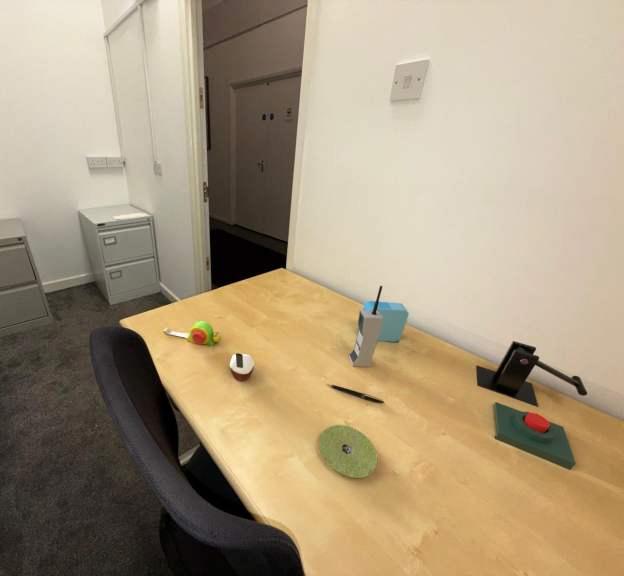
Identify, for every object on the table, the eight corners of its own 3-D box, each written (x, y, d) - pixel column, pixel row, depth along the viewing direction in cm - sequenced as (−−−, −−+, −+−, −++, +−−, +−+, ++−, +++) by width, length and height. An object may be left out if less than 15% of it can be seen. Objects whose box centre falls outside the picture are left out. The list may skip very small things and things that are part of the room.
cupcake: (240, 362, 85) (241, 327, 80) (259, 370, 82) (261, 335, 77) (220, 382, 78) (220, 346, 72) (241, 393, 75) (241, 356, 70)
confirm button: (544, 423, 64) (548, 417, 64) (547, 435, 62) (551, 430, 61) (522, 415, 66) (526, 409, 65) (525, 427, 64) (528, 421, 63)
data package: (394, 334, 98) (404, 303, 92) (399, 342, 94) (410, 310, 89) (357, 331, 99) (364, 300, 94) (360, 339, 95) (368, 307, 90)
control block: (558, 433, 66) (567, 421, 65) (570, 470, 59) (581, 458, 57) (491, 407, 72) (498, 396, 70) (494, 439, 65) (502, 427, 63)
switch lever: (574, 382, 72) (584, 377, 70) (581, 397, 68) (591, 392, 66) (510, 348, 76) (518, 342, 75) (513, 360, 72) (521, 354, 71)
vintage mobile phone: (348, 357, 88) (366, 282, 76) (365, 358, 87) (386, 282, 76) (352, 366, 84) (371, 289, 72) (369, 367, 84) (392, 289, 72)
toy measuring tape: (216, 351, 89) (215, 333, 86) (159, 337, 95) (157, 320, 91) (224, 339, 95) (223, 321, 91) (170, 326, 100) (168, 310, 97)
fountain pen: (324, 387, 77) (325, 383, 77) (325, 384, 78) (326, 380, 78) (384, 406, 72) (385, 401, 72) (384, 402, 73) (385, 398, 73)
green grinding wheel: (387, 473, 58) (390, 467, 57) (337, 490, 55) (339, 485, 54) (352, 425, 67) (354, 419, 67) (308, 437, 65) (309, 431, 64)
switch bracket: (529, 386, 79) (554, 348, 73) (536, 409, 72) (563, 370, 66) (474, 368, 84) (493, 331, 78) (475, 388, 78) (496, 349, 72)
